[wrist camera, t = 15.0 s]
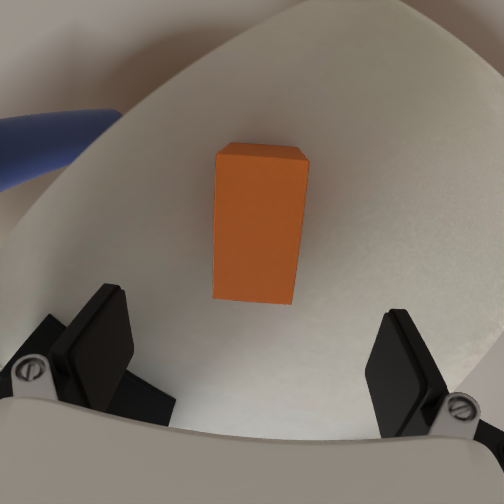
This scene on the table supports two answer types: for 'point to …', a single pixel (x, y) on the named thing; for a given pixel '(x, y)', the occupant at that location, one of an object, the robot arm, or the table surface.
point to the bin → (127, 392)
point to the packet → (258, 221)
